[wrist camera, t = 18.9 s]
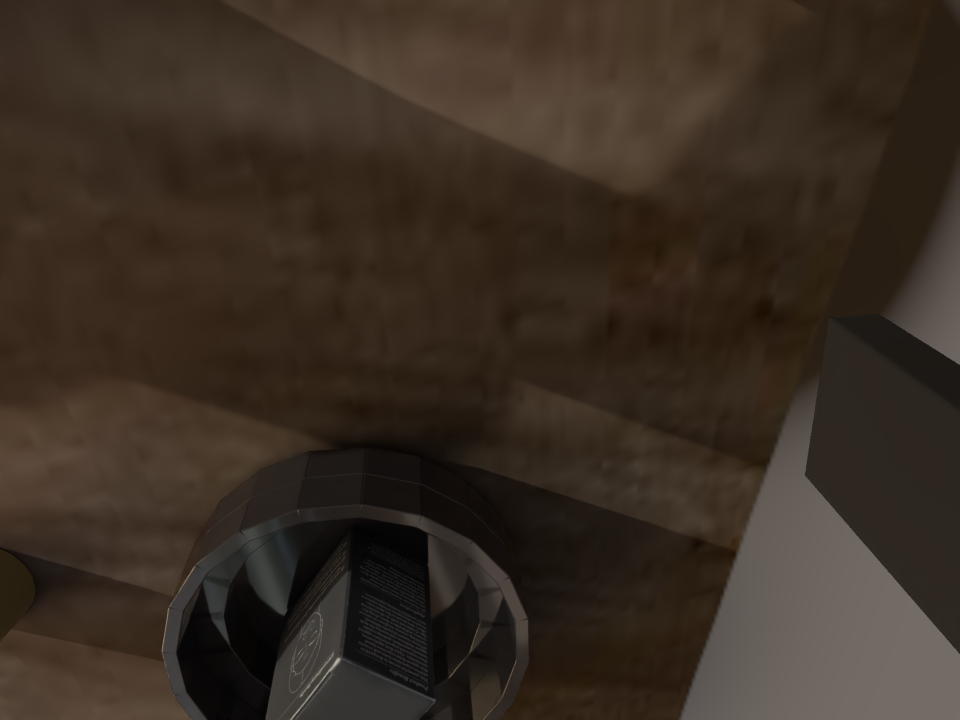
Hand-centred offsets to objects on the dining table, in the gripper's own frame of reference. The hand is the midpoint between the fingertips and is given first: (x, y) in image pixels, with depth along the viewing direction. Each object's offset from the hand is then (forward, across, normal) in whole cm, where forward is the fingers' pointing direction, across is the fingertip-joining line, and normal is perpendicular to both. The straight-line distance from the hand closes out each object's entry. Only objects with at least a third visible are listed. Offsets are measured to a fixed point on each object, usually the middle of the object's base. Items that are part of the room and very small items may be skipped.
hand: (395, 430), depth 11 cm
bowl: (+29, -5, -26) cm, 39 cm away
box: (+28, -5, -26) cm, 39 cm away
